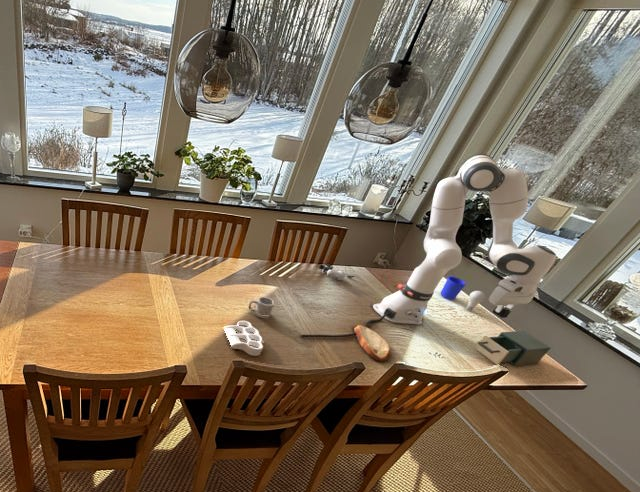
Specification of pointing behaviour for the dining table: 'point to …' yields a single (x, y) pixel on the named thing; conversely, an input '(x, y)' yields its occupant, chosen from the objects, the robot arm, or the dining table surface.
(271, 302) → the mug
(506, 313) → the binder clip
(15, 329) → the dining table surface
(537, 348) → the cabinet
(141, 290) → the dining table surface
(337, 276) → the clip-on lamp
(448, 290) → the mug
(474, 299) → the lightbulb
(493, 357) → the drawer
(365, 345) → the bread slice
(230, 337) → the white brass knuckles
